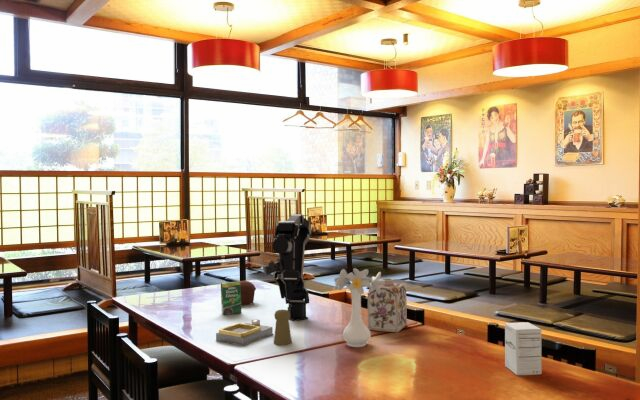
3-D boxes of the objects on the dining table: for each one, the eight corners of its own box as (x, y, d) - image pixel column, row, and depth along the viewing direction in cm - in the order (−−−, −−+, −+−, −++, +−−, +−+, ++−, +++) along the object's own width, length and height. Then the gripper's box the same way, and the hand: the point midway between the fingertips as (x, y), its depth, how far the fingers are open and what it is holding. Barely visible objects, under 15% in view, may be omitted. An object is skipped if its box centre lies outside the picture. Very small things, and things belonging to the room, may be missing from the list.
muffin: (261, 302, 242) (261, 280, 241) (245, 307, 232) (245, 284, 232) (241, 299, 248) (241, 278, 248) (225, 304, 239) (225, 282, 238)
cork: (289, 345, 173) (288, 312, 173) (271, 345, 174) (270, 312, 174) (293, 340, 179) (293, 308, 179) (276, 339, 180) (276, 307, 180)
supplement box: (504, 366, 150) (503, 322, 149) (529, 365, 150) (529, 321, 150) (516, 375, 142) (515, 329, 142) (542, 374, 143) (542, 328, 143)
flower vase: (390, 342, 175) (389, 267, 175) (351, 354, 163) (350, 273, 162) (362, 334, 185) (361, 263, 184) (323, 345, 172) (322, 269, 172)
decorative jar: (407, 325, 197) (407, 277, 196) (398, 333, 186) (398, 282, 186) (377, 322, 202) (376, 275, 201) (366, 330, 191) (366, 280, 191)
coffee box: (222, 315, 217) (221, 283, 217) (221, 313, 220) (220, 282, 220) (241, 313, 220) (241, 282, 220) (239, 311, 223) (239, 280, 223)
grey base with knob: (246, 329, 194) (246, 317, 194) (272, 333, 188) (272, 321, 188) (216, 340, 181) (215, 327, 181) (242, 345, 174) (242, 332, 174)
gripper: (260, 255, 199) (259, 297, 196) (269, 253, 181) (268, 299, 179) (289, 256, 202) (288, 298, 199) (301, 254, 184) (300, 299, 182)
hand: (285, 298), depth 190 cm, fingers open, 9 cm apart
